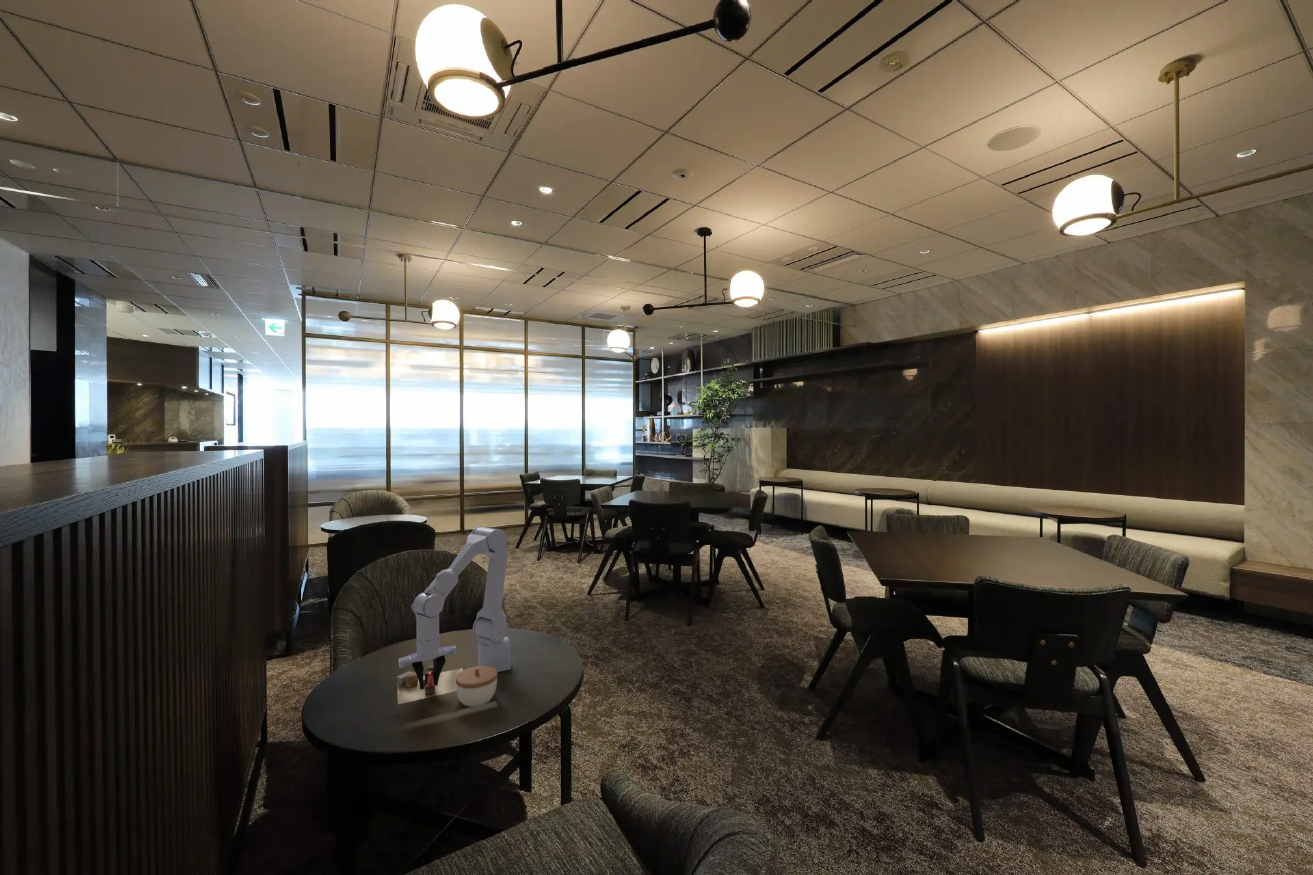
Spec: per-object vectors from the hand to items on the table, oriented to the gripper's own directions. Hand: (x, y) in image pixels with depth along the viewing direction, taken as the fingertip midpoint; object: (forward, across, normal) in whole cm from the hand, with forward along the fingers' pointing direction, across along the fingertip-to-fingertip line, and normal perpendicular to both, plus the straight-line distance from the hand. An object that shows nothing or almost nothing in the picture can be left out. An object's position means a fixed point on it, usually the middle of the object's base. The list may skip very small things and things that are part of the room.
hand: (428, 685), depth 141 cm
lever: (+2, -1, -6) cm, 6 cm away
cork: (+2, +3, -8) cm, 9 cm away
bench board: (+3, -2, -5) cm, 6 cm away
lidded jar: (+4, -10, +10) cm, 15 cm away
